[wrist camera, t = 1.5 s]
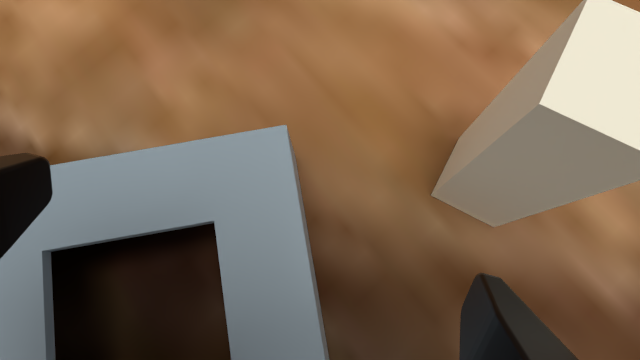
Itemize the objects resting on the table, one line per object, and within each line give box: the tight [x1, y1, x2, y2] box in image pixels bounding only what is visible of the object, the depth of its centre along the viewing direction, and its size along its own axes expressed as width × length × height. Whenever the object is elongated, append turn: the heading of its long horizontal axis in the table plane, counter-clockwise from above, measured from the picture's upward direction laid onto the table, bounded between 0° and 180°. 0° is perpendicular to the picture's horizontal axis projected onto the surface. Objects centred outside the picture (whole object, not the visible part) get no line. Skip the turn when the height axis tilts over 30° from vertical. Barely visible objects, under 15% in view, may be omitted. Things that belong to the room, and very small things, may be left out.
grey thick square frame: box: [0, 125, 329, 360], centre depth 20 cm, size 14×14×5 cm
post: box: [431, 0, 640, 227], centre depth 17 cm, size 4×4×12 cm
